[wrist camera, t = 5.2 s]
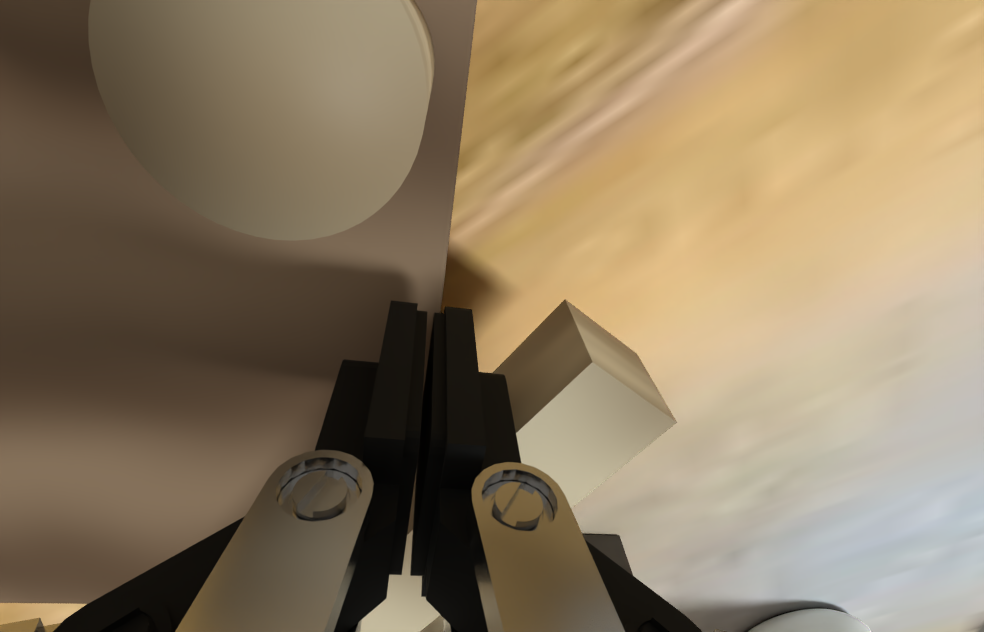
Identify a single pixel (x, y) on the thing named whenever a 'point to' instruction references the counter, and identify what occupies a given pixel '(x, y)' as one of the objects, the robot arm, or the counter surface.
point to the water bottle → (813, 622)
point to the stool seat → (202, 255)
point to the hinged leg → (556, 428)
